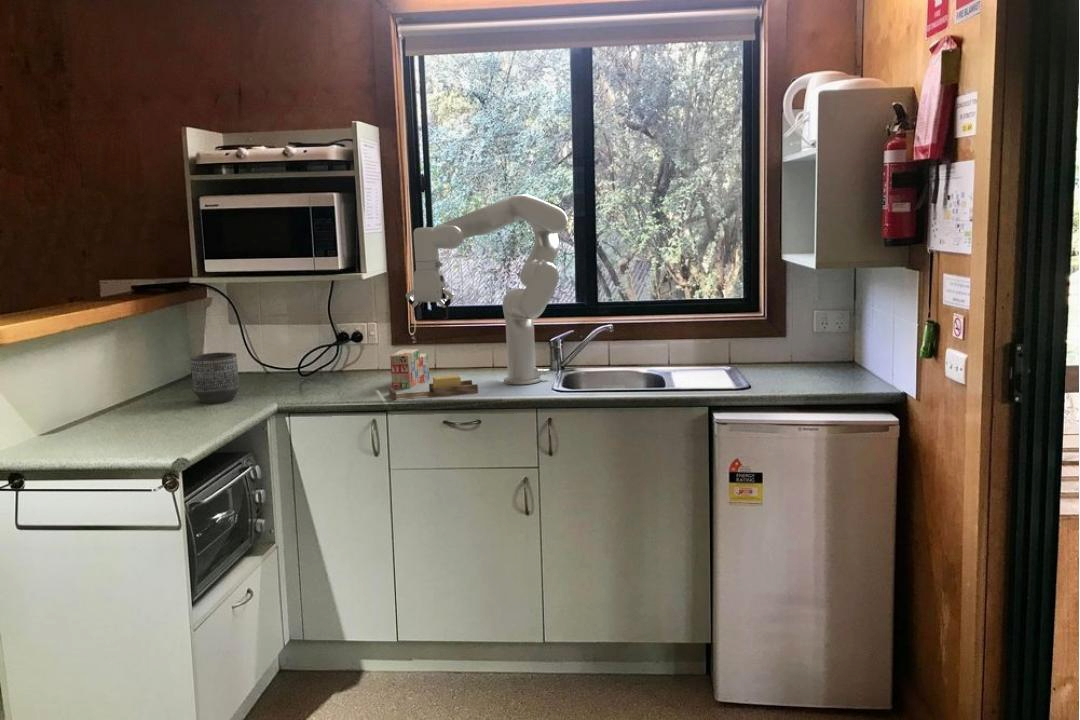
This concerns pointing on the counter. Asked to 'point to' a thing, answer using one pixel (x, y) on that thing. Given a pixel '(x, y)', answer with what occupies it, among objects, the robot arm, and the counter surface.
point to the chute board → (437, 391)
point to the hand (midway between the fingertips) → (431, 319)
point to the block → (446, 381)
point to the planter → (215, 377)
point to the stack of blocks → (409, 368)
